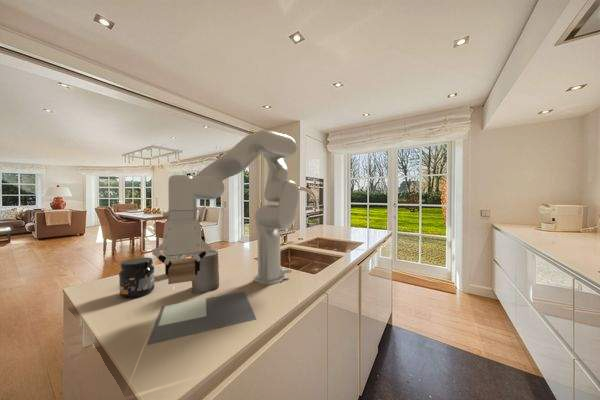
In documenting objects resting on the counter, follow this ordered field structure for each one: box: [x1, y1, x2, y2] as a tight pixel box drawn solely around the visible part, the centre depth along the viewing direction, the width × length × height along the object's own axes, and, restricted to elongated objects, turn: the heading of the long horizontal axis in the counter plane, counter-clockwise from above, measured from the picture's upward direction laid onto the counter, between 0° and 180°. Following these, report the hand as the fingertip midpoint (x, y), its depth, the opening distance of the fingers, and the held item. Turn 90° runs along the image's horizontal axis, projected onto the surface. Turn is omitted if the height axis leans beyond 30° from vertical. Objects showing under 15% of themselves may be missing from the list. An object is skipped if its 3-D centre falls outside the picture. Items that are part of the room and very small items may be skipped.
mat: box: [146, 291, 257, 346], centre depth 66 cm, size 26×20×1 cm
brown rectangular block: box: [167, 257, 196, 285], centre depth 67 cm, size 11×6×4 cm, turn 24°
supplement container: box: [118, 256, 156, 299], centre depth 81 cm, size 10×10×12 cm
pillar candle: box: [190, 249, 220, 294], centre depth 85 cm, size 10×10×15 cm
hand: (183, 274), depth 67 cm, fingers closed on brown rectangular block, 6 cm apart
